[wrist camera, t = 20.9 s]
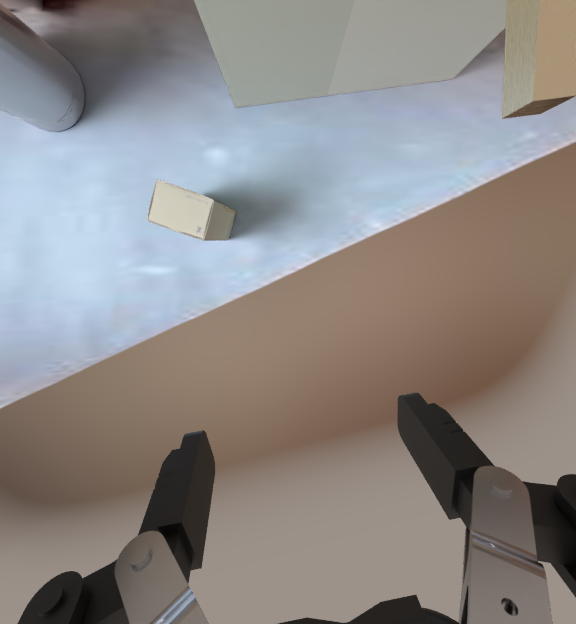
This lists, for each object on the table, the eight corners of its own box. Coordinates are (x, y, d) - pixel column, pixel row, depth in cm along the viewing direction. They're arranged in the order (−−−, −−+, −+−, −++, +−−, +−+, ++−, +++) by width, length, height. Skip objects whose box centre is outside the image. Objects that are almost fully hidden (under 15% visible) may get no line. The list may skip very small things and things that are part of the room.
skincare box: (237, 211, 41) (217, 199, 29) (228, 242, 42) (205, 242, 30) (193, 195, 41) (155, 176, 29) (185, 226, 42) (145, 221, 30)
